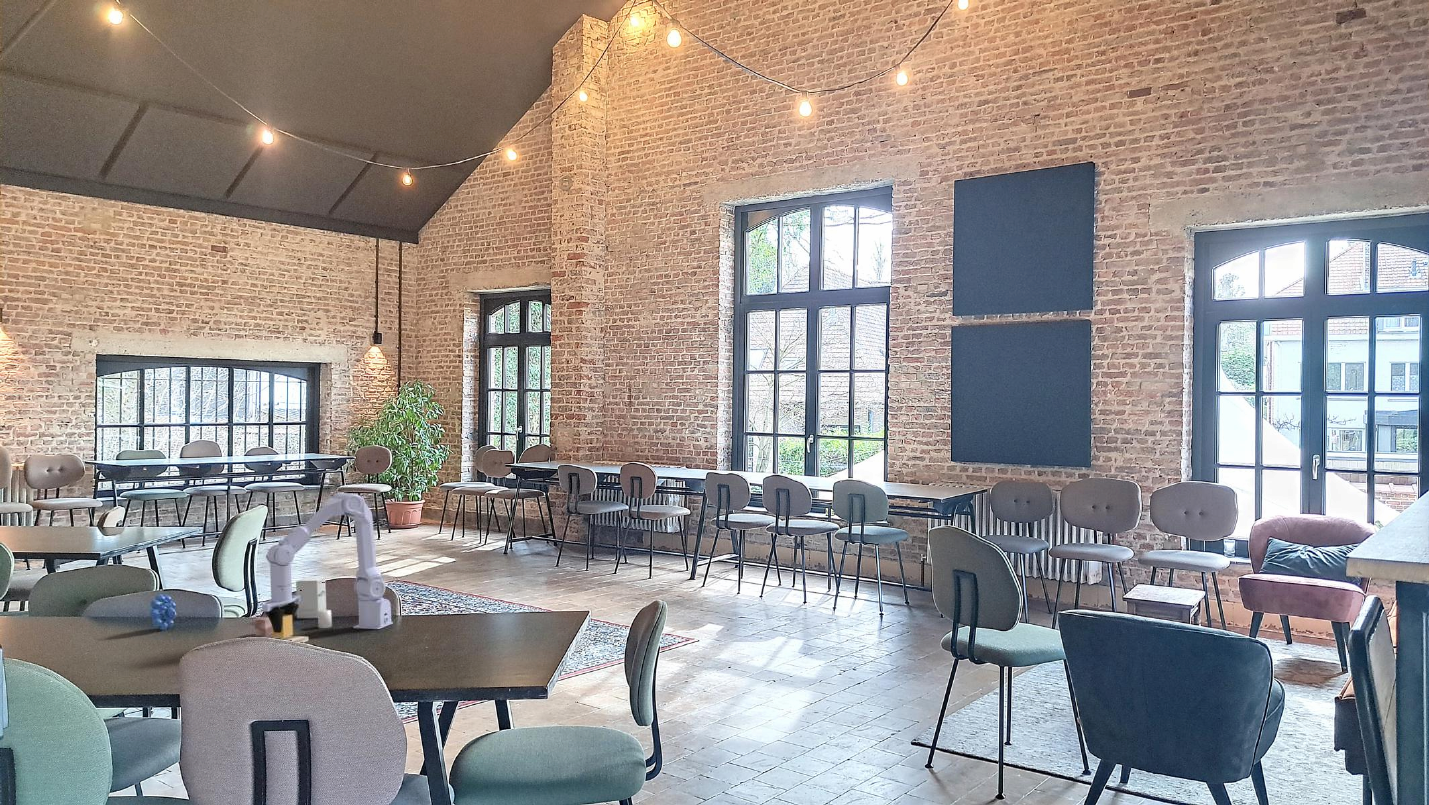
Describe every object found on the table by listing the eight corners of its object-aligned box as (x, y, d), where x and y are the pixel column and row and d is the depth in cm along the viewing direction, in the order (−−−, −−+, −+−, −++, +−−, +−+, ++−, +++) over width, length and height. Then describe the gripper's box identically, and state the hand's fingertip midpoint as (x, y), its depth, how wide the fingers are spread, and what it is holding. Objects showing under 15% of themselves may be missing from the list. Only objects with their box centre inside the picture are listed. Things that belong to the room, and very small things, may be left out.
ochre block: (292, 634, 305) (292, 614, 305) (283, 637, 301) (282, 617, 301) (281, 634, 306) (280, 614, 306) (272, 637, 303) (271, 617, 302)
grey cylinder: (334, 625, 327) (333, 610, 327) (326, 628, 323) (325, 612, 323) (323, 625, 328) (323, 609, 328) (315, 628, 324) (315, 612, 324)
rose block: (274, 633, 319) (274, 617, 319) (265, 636, 315) (265, 620, 315) (264, 632, 320) (263, 616, 320) (254, 635, 316) (254, 619, 316)
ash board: (308, 640, 307) (308, 636, 307) (285, 649, 298) (285, 645, 298) (280, 639, 310) (280, 635, 310) (257, 647, 301) (257, 643, 301)
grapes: (164, 634, 321) (163, 597, 321) (144, 634, 322) (143, 597, 322) (187, 626, 332) (186, 589, 332) (168, 626, 333) (167, 589, 333)
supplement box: (318, 618, 339) (317, 580, 338) (296, 618, 339) (295, 581, 339) (327, 613, 346) (326, 576, 346) (305, 613, 346) (304, 576, 346)
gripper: (286, 580, 312) (288, 624, 312) (252, 589, 298) (254, 635, 298) (305, 580, 310) (307, 625, 310) (272, 590, 296) (274, 636, 296)
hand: (282, 630), depth 304 cm, fingers closed on ochre block, 4 cm apart
